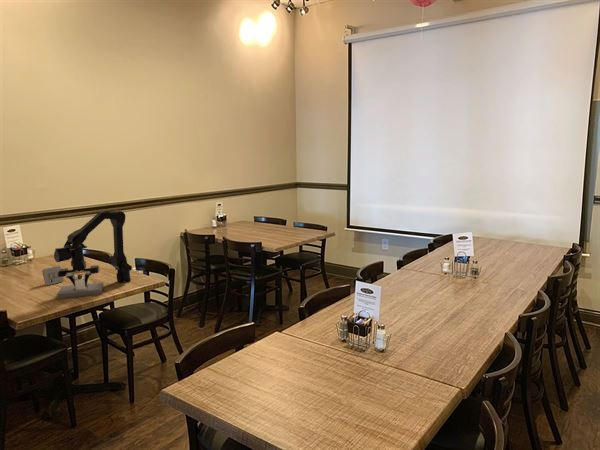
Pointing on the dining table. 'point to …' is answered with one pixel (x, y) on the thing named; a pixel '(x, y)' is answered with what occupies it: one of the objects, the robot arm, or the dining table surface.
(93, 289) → the socket plate
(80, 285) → the plug
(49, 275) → the electrical switch
